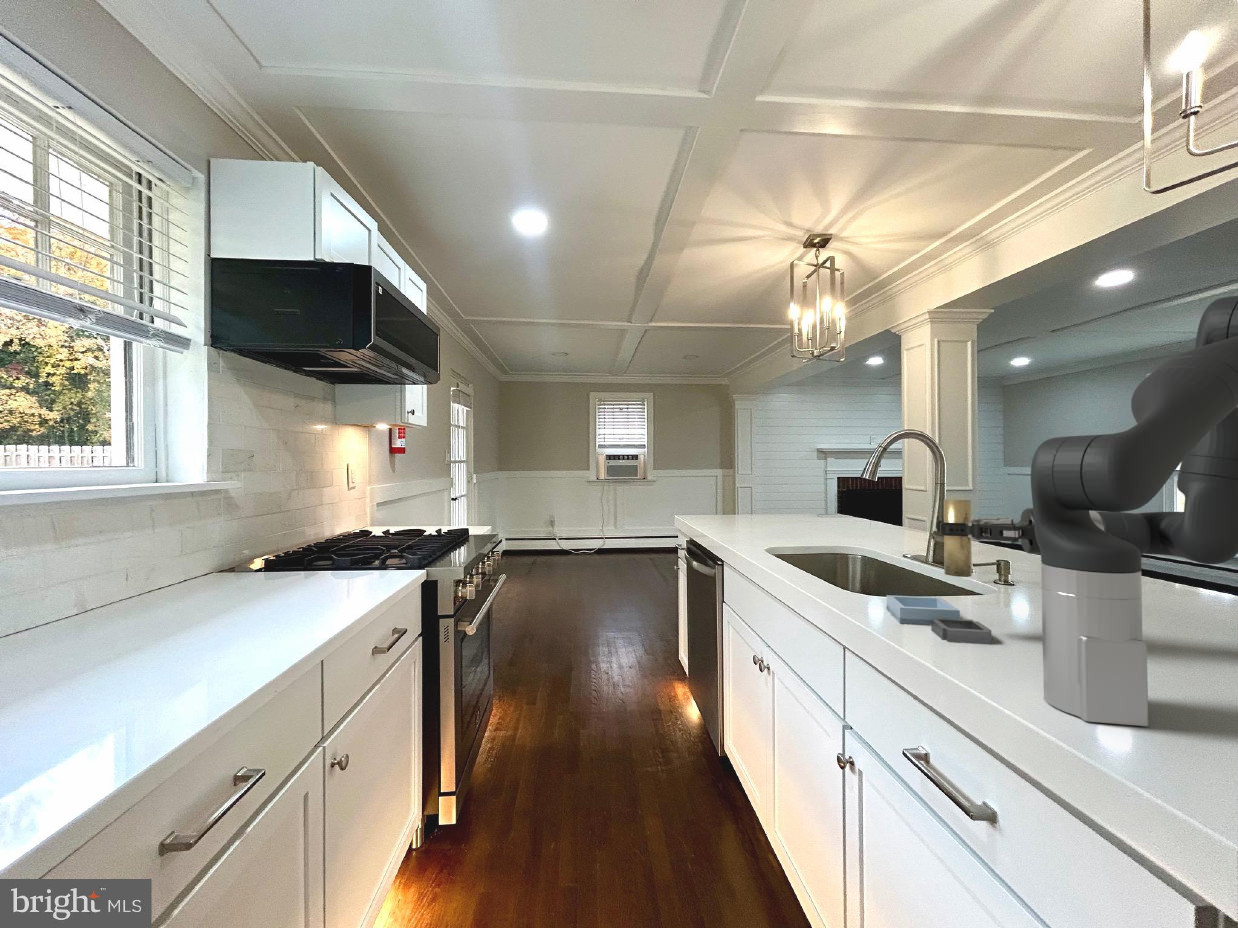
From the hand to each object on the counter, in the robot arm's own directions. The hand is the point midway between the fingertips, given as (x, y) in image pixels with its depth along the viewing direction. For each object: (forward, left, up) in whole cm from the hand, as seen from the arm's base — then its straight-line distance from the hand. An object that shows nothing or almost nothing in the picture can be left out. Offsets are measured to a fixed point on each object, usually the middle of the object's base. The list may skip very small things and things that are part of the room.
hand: (939, 527), depth 94 cm
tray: (+11, 0, -19) cm, 22 cm away
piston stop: (-1, -3, -8) cm, 8 cm away
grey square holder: (0, -3, -19) cm, 19 cm away
